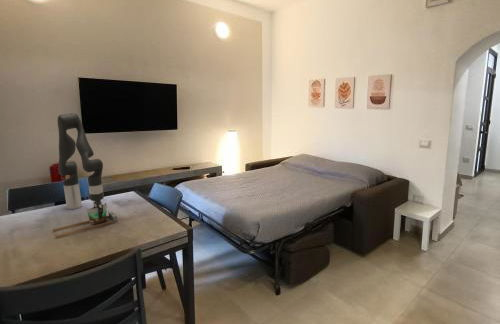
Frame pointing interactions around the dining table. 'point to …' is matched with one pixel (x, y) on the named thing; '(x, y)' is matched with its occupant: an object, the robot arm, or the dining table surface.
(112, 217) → the guide channel
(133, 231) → the dining table surface
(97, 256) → the dining table surface
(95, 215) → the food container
